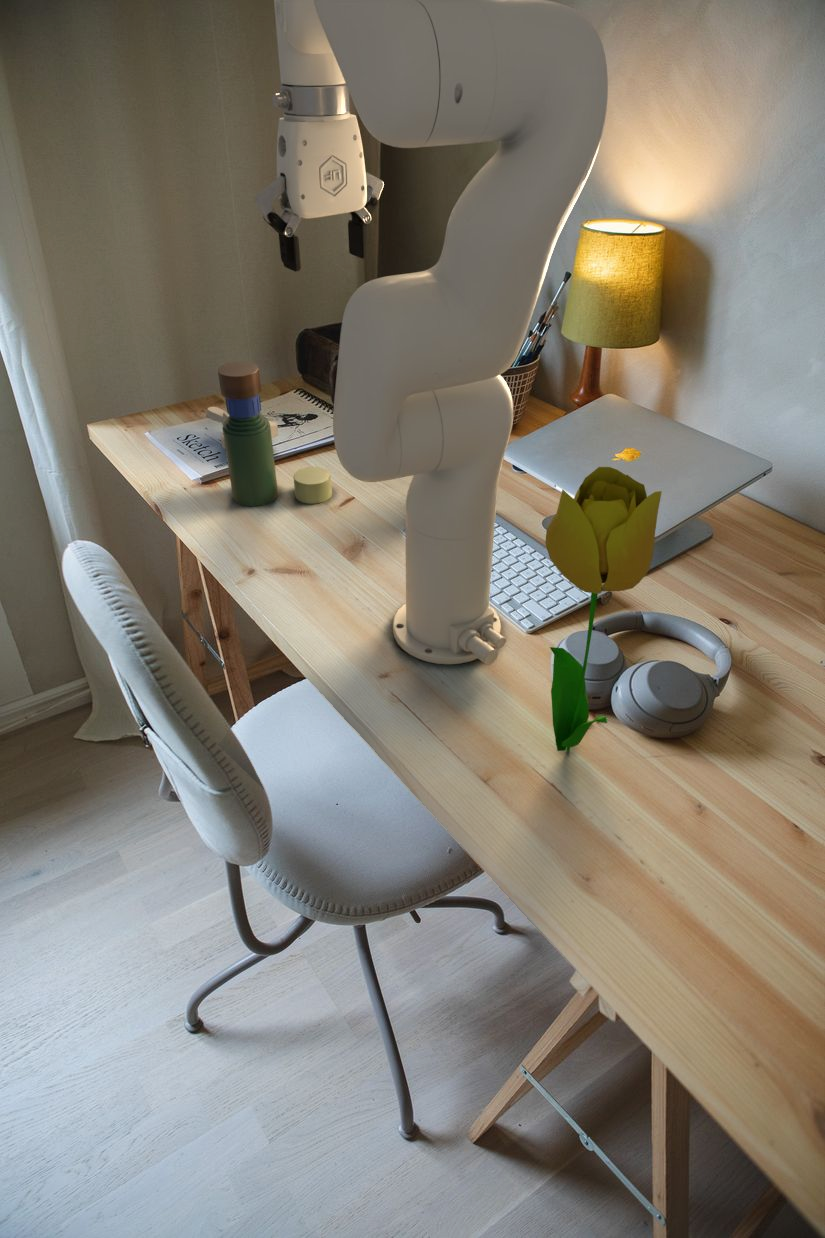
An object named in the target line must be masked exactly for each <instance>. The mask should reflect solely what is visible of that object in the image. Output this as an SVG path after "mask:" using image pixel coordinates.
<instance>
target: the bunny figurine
mask: <svg viewBox="0 0 825 1238" xmlns="http://www.w3.org/2000/svg"><path fill="white" fill-rule="evenodd" d="M228 417H229V414H228V413H227V410H223V409H221V407H217V406H209V407H207V410H206V413H205V418H207V419H209V420H212V421H216V422H219V423H221V425H222V426H223V424H224V422H225V421H226V419H227V418H228ZM268 421H269V423H270V428H271V437H272V439H274V438H277V437H278V436H279V426H278V423H277V422H276V421H272V420H271V421H270V420H268ZM220 443H221V448H222V449H224V450H226V449H225V442H224V436H223V433H221V434H220Z"/></svg>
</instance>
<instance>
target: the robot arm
mask: <svg viewBox="0 0 825 1238" xmlns="http://www.w3.org/2000/svg"><path fill="white" fill-rule="evenodd" d="M273 6H274V7H273V8H274V18H275V30H276V42H277V53H278V54H277V55H278V65H279V78H280V85H279V92H278V93H272V97H271V101H272V105H273V107H274V108H275V109H278V108H279V109H281V113H282V115H283V117H279V118H278V124H277V125H278V126H277V137H276V138H277V139H276V178H275V179H274V180H273V181H272V182H270V184H269V185H267V186H266V187H265V188H263V189H262V190H261V191H260V192H259V193H258V194H256V195H255V196H254V203H255V205H256V206H257V208H258V210H259V212H260V214H261V215H262V216H263V217H262V218H263V220H264V221H265V222H266V223H267V224H268V225H269V226H270V227H271V228H272V229H273V231H274V232H275V233H277V234H278V242H279V252H280V253H279V254H280V260H281V263H283V266H284V268H286V269H288V270H290V271H293V272H295V273H297V272H299V271H301V269H302V268H301V267H302V266H301V265H302V263H301V254H300V239H299V236H297V235H296V234H295V232H296V230H297V228H298V226H299V224H300V222H301V221H302V219H316V218H317V219H318V218H323V217H329V216H335V215H343V214H348V215H349V216H350V217H351V219H349V220H348V223H347V231H348V232H347V233H348V234H347V235H348V251H349V254H350V255H352V256H354V257H357V258H359V259H367V257H368V246H369V243H368V224H370V223H371V221H372V216H373V214H374V212H375V211H376V209H377V207H378V206H379V199H380V197H381V194H382V191H383V190H384V189H383V188H384V185H385V184H384V180H382V179H380V178H379V177H377V176H376V175H375V176H374V175H373V174H372V173H369V172H368V171H366V164H365V154H364V147H363V141H362V136H361V131H360V126H359V123H358V119H357V115H356V114H351V112H350V111H351V110H350V97H351V99H352V102H353V105H354V107H355V109H356V112H357V114H358V117H359V119H360V120H361V122H362V124H363V126H364V127H365V128H366V131H368V133H369V134H370V135H371V136H372V137H373V138H374V139H376V140H377V141H378V142H380V143H382V144H384V145H387V146H390V147H393V148H399V149H417V148H428V147H440V146H442V147H443V146H455V145H468V144H479V143H490V142H499V143H498V148H497V150H496V152H495V153H494V154H493V156H492V157H491V158H490V159H489V160H488V161H487V162H486V163H485V164H483V166H482V167H481V168H480V169H479V170H478V171H477V172H476V174H475V175H474V176H473V177H472V179H471V180H470V181H469V182H468V183H467V185H466V187H464V190H463V191H462V192H461V194H460V196H459V197H458V199H457V201H456V203H455V204H454V206H453V208H452V210H451V212H450V215H449V218H448V220H447V225H446V228H445V234H444V240H443V246H442V249H441V253H440V256H439V258H438V260H437V262H436V263H435V264H434V265H433V266H432V267H429V268H428V269H425V270H421V271H416V272H409V273H402V274H393V275H392V274H391V275H387V276H382V277H378V278H374V279H371V280H369V281H367V282H365V283H362V285H360V286H359V287H358V288H357V289H356V290H355V291H354V292H353V294H351V296H350V298H349V300H348V301H347V303H346V306H345V308H344V311H343V315H342V320H341V321H342V322H341V327H340V336H339V346H338V357H337V367H336V368H337V369H336V377H335V378H336V379H335V389H334V400H333V411H332V433H333V442H334V447H335V452H336V455H337V458H338V460H339V462H340V464H341V465H342V468H343V469H344V470H345V471H346V472H347V474H349V475H350V476H351V477H353V479H356V480H358V481H360V482H364V483H378V482H385V481H391V480H396V479H400V478H406V477H411V476H412V478H411V481H410V483H409V486H408V490H407V492H406V497H405V507H404V508H405V510H404V511H405V513H404V514H405V515H404V517H405V519H404V520H405V521H404V522H405V529H404V530H405V603H404V604H402V605H401V606H400V607H399V608H398V610H396V612H395V614H394V616H393V620H392V633H393V637H394V639H395V641H396V643H397V644H398V646H399V647H400V648H401V649H402V650H403V651H405V652H406V653H407V654H409V655H410V656H412V657H415V658H416V659H419V660H421V661H424V662H426V663H427V662H428V663H432V664H438V665H458V664H463V663H464V664H465V663H469V662H472V661H475V660H480V662H481V663H483V664H484V665H486V666H490V665H492V664H493V663H494V662H495V661H496V659H497V658H498V655H499V653H498V650H497V649H501V648H503V647H504V646H505V645H506V642H507V639H506V638H505V637H504V636H503V635H502V634H501V629H502V625H501V624H502V623H501V620H500V617H499V614H498V613H497V612H496V610H495V609H494V608H493V607H492V606H490V595H491V581H492V568H493V552H494V537H495V525H496V524H495V522H496V514H497V502H498V501H497V500H498V490H499V483H500V476H501V470H502V466H503V462H504V459H505V454H506V451H507V448H508V444H509V441H510V437H511V433H512V430H513V421H514V401H513V396H512V393H511V390H510V387H509V385H508V384H507V382H506V380H505V379H504V378H503V376H502V374H504V373H505V372H506V371H508V370H509V369H510V368H511V367H512V365H513V364H514V363H515V361H516V359H517V357H518V355H519V353H520V350H521V348H522V346H523V344H524V340H525V338H526V335H527V332H528V329H529V326H530V323H531V320H532V317H533V314H534V311H535V307H536V305H537V302H538V298H539V296H540V292H541V290H542V286H543V284H544V280H545V277H546V273H547V272H548V267H549V264H550V260H551V257H552V254H553V251H554V248H555V246H556V243H557V241H558V238H559V237H560V234H561V232H562V230H563V228H564V226H565V224H566V222H567V220H568V217H569V216H570V214H571V212H572V210H573V208H574V205H575V204H576V202H577V200H578V198H579V196H580V194H581V193H582V190H583V188H584V186H585V184H586V182H587V180H588V177H589V175H590V173H591V171H592V168H593V166H594V163H595V160H596V157H597V155H598V152H599V149H600V145H601V142H602V138H603V133H604V130H605V129H604V128H605V124H606V117H607V111H608V99H609V75H608V65H607V59H606V53H605V49H604V45H603V42H602V40H601V38H600V35H599V33H598V30H597V29H596V27H595V26H594V24H593V23H592V22H591V21H590V19H588V18H587V17H586V16H585V15H584V14H583V13H581V11H578V10H577V9H575V8H573V7H571V6H569V5H566V4H562V3H559V2H556V1H553V0H552V1H551V0H273ZM277 199H278V201H279V206H280V208H281V210H280V213H279V214H278V213H276V210H275V207H274V206H273V203H274V202H275V201H276V200H277ZM495 648H497V649H495Z"/></svg>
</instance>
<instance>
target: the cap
mask: <svg viewBox="0 0 825 1238" xmlns="http://www.w3.org/2000/svg"><path fill="white" fill-rule="evenodd" d="M224 399H225V405H226V406H225V407H226V411H227V413H228V414H229V415H230V416H232V417H235V418H249V417H253V416H256V415H258V414H259V413H261V412H262V405H261V396H260V394H258V395H257V396H255V397H252V398H248V399H240V400H236V399H229V398H226V397H224Z"/></svg>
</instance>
